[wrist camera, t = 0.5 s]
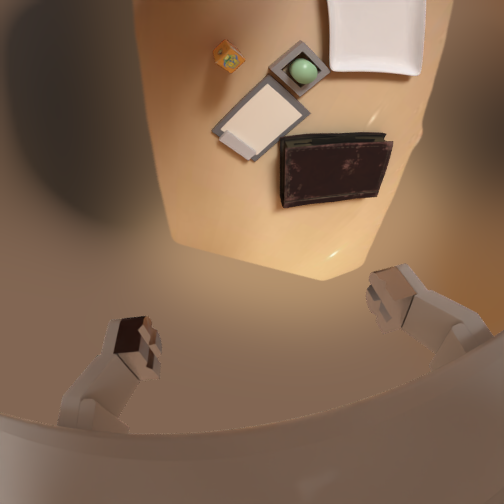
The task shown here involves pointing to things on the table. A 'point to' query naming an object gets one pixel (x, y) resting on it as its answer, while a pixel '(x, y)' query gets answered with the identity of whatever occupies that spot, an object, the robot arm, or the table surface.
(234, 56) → the supplement box
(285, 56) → the button bezel
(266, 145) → the clipboard
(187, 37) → the table surface
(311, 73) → the button
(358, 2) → the salad plate
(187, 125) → the table surface
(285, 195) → the diary
